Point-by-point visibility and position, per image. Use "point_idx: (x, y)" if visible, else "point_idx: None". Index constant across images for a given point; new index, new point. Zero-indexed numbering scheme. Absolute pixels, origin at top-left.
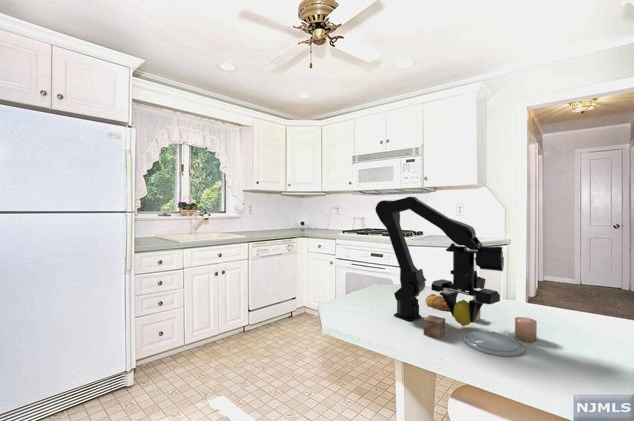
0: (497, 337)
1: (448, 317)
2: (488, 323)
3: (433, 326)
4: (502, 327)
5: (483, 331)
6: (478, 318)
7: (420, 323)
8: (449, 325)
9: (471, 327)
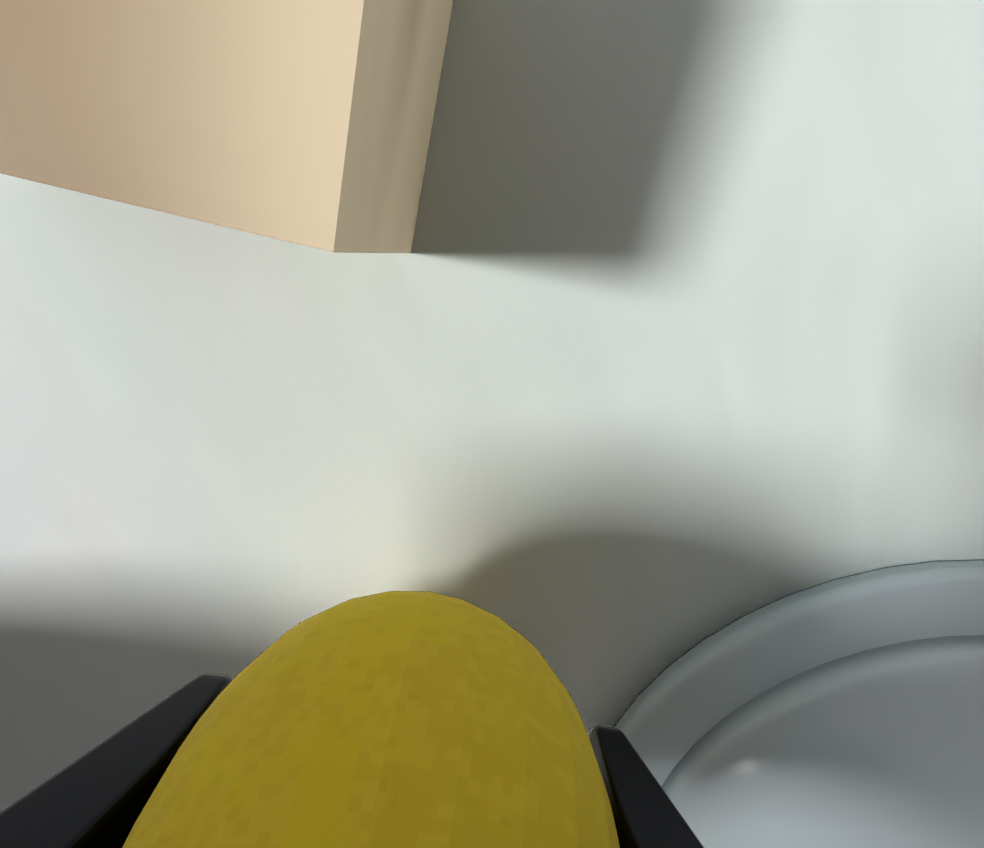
0: (968, 805)
1: (7, 341)
2: (673, 88)
3: None
4: (954, 121)
5: (768, 741)
6: (442, 13)
7: (5, 804)
8: (258, 650)
9: (510, 520)
